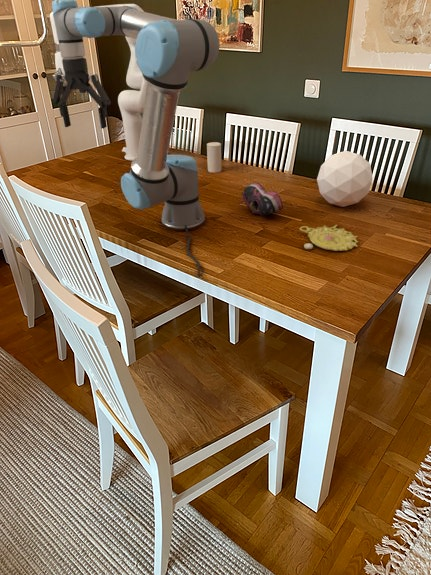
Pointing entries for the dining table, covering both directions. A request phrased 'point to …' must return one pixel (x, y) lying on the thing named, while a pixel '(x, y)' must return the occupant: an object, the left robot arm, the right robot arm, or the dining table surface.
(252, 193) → the athletic shoe
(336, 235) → the decorative object
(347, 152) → the sphere
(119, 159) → the dining table surface
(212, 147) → the canister
